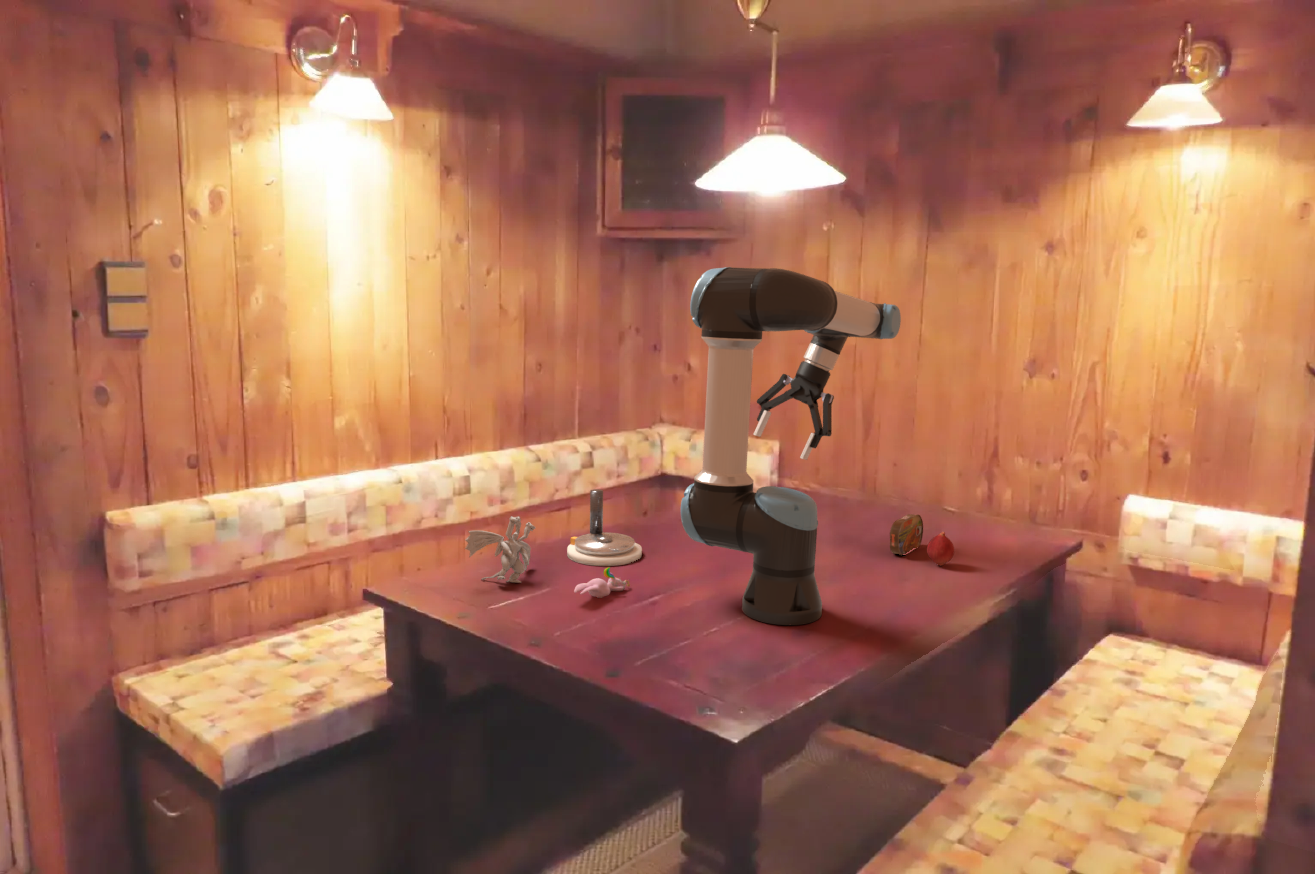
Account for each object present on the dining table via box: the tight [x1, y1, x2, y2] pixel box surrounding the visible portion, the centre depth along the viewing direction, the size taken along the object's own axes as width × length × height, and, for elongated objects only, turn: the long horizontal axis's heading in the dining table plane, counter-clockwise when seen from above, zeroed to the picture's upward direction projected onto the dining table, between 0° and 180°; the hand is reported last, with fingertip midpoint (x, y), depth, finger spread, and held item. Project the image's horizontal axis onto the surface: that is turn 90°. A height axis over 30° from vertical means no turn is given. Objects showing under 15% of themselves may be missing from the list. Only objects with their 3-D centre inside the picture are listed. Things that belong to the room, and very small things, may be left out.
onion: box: [926, 531, 955, 566], centre depth 205 cm, size 6×6×8 cm
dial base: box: [566, 536, 643, 567], centre depth 209 cm, size 17×17×3 cm
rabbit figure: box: [573, 566, 631, 599], centre depth 181 cm, size 6×6×15 cm
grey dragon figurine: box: [464, 515, 536, 584], centre depth 190 cm, size 10×18×14 cm, turn 136°
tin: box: [889, 513, 924, 556], centre depth 216 cm, size 15×3×8 cm, turn 143°
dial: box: [575, 488, 636, 556], centre depth 208 cm, size 14×14×12 cm
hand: (779, 447), depth 219 cm, fingers open, 13 cm apart
